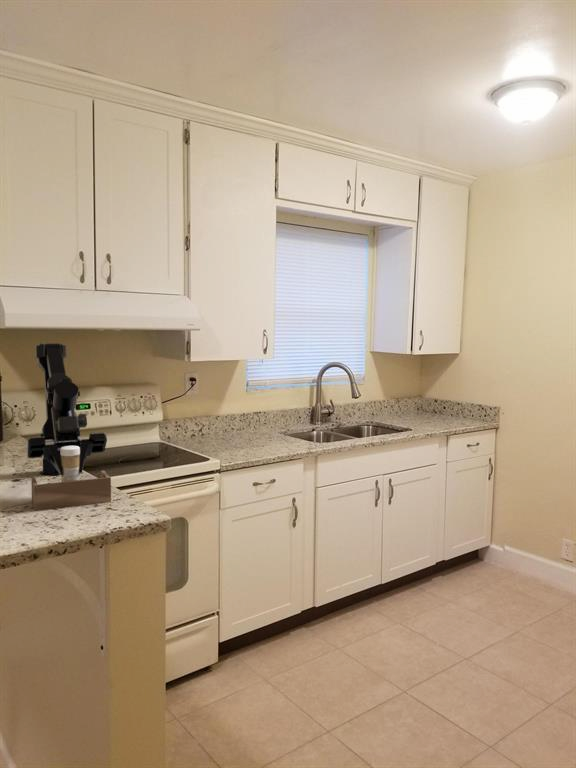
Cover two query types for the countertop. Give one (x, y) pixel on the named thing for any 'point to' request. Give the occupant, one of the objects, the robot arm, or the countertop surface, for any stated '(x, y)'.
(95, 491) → the walnut crate
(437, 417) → the countertop surface
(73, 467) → the sprinkles bottle
